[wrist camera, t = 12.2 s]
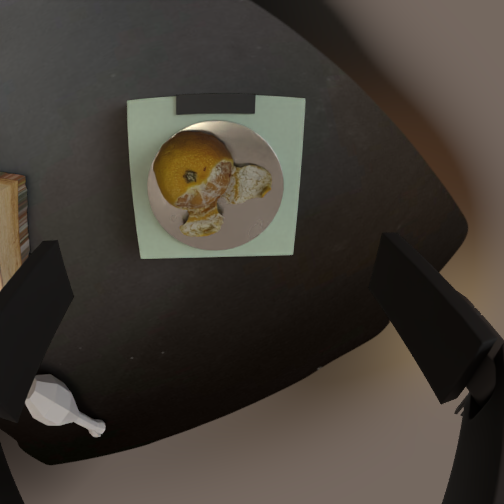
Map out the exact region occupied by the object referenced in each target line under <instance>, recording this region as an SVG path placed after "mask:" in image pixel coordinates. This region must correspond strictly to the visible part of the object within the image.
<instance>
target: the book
mask: <svg viewBox="0 0 504 504" xmlns="http://www.w3.org/2000/svg"><path fill="white" fill-rule="evenodd" d="M25 182H26V180H25V176H22V175H18V174H7V173H6V172H0V291H1V290H2V288H3V287H4V286H5V285H6V283H7V282H8V281H9V280H10V278H11V277H12V276H13V275H14V274H15V272H16V271H17V270H18V269H19V268H20V266H21V265H22V264H23V263H24V262H25V261H26V259H27V258H28V254H29V252H30V246H29V239H28V235H29V234H28V224H27V222H28V221H27V208H28V202H27V188H26V186H25Z"/></svg>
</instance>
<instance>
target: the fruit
mask: <svg viewBox="0 0 504 504" xmlns="http://www.w3.org/2000/svg"><path fill="white" fill-rule="evenodd" d="M233 163H234V162H233V159H232V157H231V154H230V153H229V151H228V150H227V149H226V147H225V145H224V143H222V142H221V141H219V140H218V139H216V138H215V136H213V135H209V134H207V133H203V132H193V131H182V132H178V133H177V134H175V135H174V136H173V137H172V138H170V139H169V141H167V142H165V143H164V144H163V145H162V146H161V148H160V150H159V153H158V154H157V156H156V158H155V160H154V164H153V171H154V173H155V177H156V181H157V184H158V186H159V188H160V191H161V193H162V195H163V197H164V198H165V200H166V201H167V202H168V203H169V204H171V205H172V206H174V207H176V208H179V209H185V210H187V211H188V213H189V216H188V220H187V222H186V223H185V224H184V225H181V226H180V231H181V232H182V233H183V234H184V235H187V236H197V237H199V236H200V237H202V236H209V235H211V234H214V233H216V232H218V231H219V230H220V228H221V225H222V224H223V223H224V222H223V218H224V217H223V216H222V215H220V214H219V212H218V211H217V200H218V199H219V198H221V197H222V198H224V199H225V200H226V201H227V203H228V204H238V203H243V202H245V201H246V200H248V199H251V198H256V197H259V198H263V197H264V195H265V194H266V193H267V192H268V191H270V190H271V185H272V177H271V174H270V173H269V172H268V171H266V170H265V169H263V168H261V167H258V166H255V165H249V166H244V167H242V168H239V167H235V166H233V165H234V164H233Z"/></svg>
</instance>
